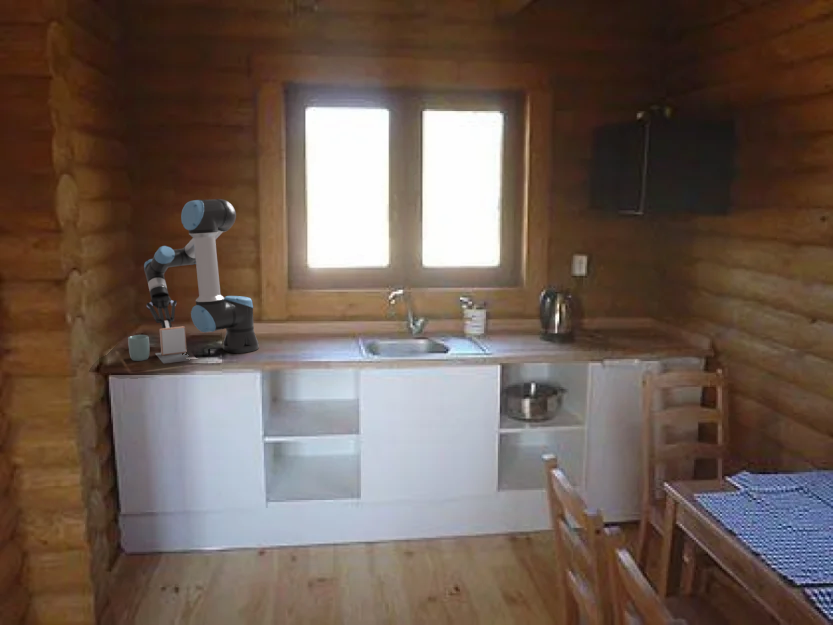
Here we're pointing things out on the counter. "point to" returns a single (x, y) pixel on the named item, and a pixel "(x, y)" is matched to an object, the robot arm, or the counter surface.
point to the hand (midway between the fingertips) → (168, 334)
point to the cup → (138, 347)
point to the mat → (172, 357)
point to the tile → (173, 340)
